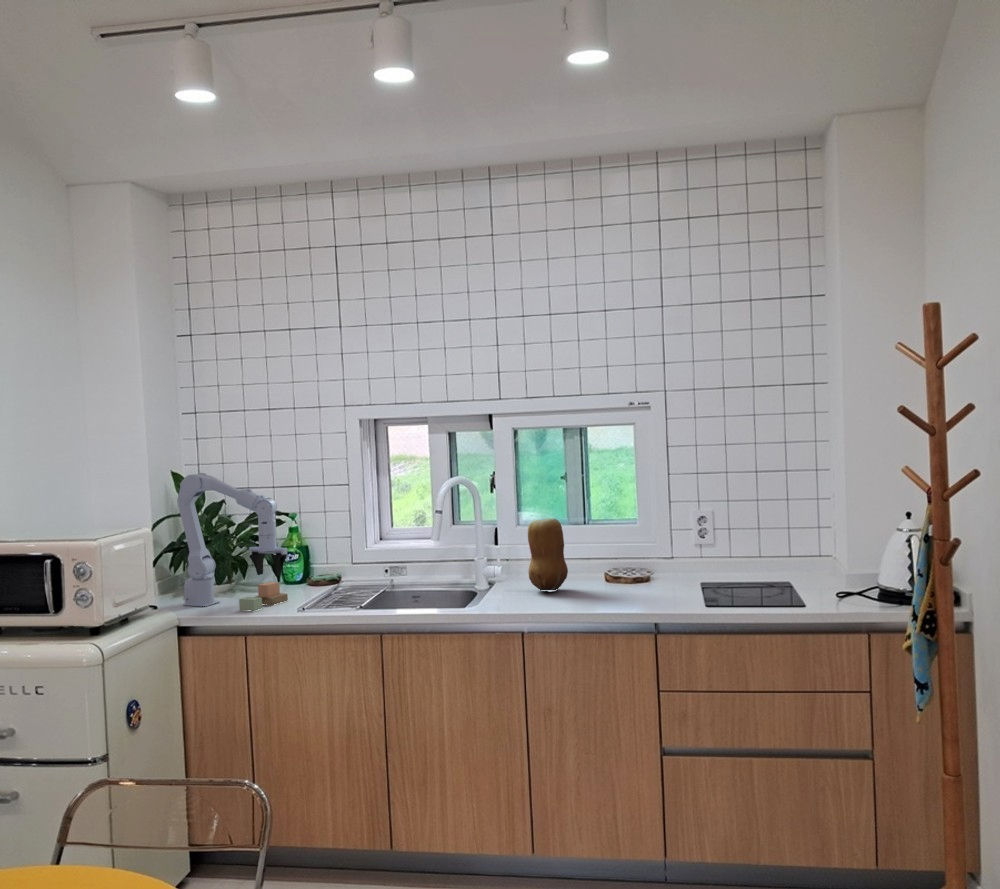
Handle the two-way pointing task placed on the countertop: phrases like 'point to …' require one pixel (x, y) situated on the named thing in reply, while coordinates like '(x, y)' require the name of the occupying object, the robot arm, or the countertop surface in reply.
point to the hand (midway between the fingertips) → (269, 575)
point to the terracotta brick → (268, 589)
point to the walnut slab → (274, 599)
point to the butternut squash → (546, 554)
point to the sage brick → (250, 603)
